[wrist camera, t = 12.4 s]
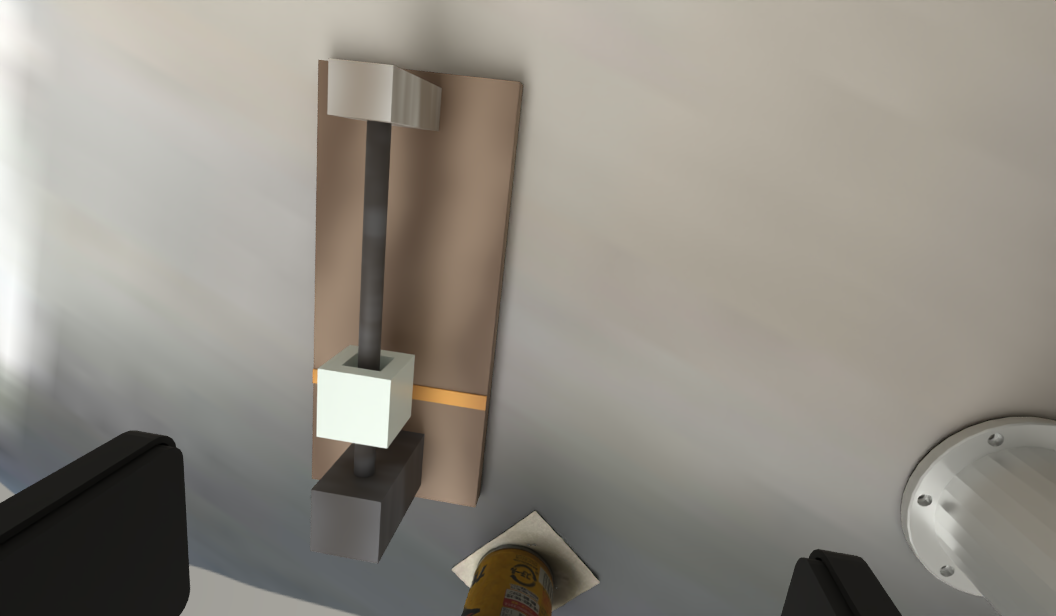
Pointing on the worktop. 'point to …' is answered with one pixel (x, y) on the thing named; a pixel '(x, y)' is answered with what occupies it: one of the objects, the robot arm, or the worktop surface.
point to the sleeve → (364, 398)
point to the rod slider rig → (408, 281)
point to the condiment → (523, 573)
